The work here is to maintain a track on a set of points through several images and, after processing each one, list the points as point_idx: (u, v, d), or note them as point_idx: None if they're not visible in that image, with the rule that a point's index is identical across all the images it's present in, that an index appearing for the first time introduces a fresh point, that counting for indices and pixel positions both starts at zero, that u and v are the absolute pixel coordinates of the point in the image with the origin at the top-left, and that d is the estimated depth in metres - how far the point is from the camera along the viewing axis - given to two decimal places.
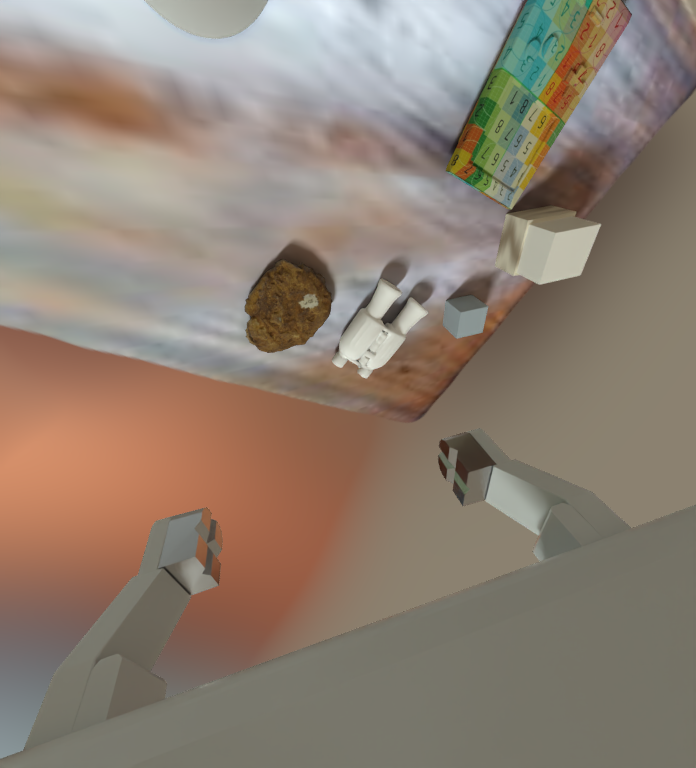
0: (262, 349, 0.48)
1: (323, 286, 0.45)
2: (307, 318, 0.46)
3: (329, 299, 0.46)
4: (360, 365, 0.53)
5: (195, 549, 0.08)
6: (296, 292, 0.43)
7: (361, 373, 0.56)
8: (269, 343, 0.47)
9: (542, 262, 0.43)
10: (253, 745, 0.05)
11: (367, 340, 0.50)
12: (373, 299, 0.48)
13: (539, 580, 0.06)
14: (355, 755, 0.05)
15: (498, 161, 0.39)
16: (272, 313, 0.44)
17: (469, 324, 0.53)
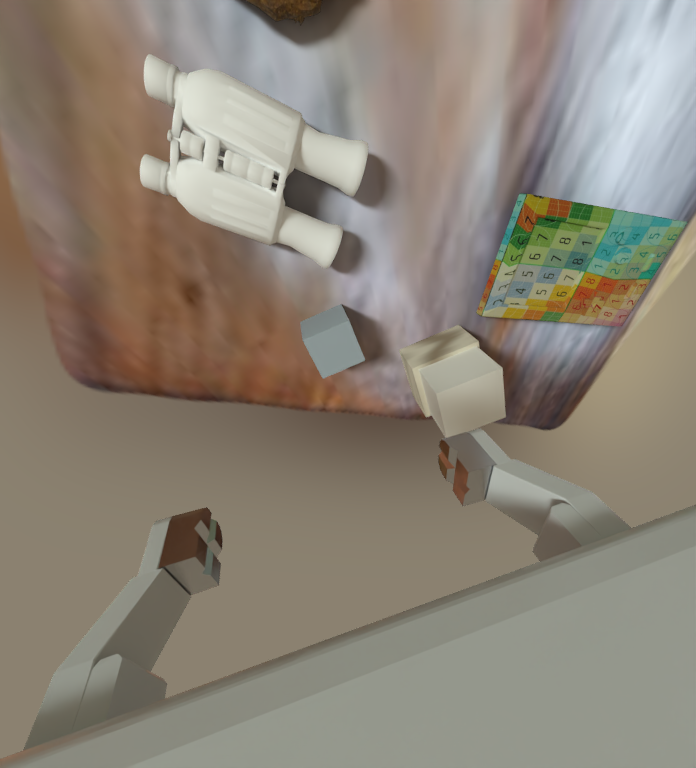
0: None
1: None
2: None
3: (307, 4, 0.21)
4: (174, 139, 0.22)
5: (195, 549, 0.08)
6: None
7: (148, 160, 0.23)
8: None
9: (461, 379, 0.31)
10: (253, 745, 0.05)
11: (248, 129, 0.22)
12: None
13: (539, 580, 0.06)
14: (356, 755, 0.05)
15: (532, 262, 0.32)
16: None
17: (331, 348, 0.32)
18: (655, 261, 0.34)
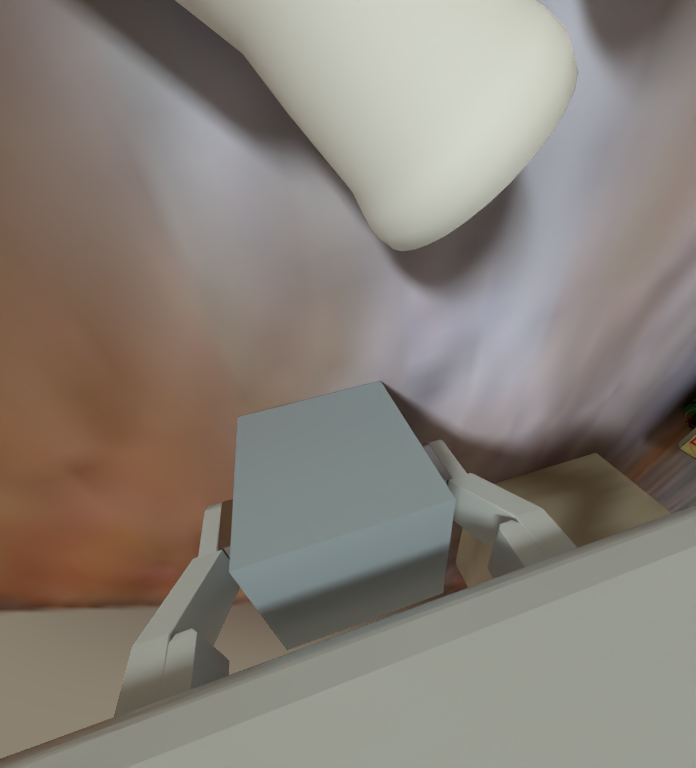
0: None
1: None
2: None
3: None
4: None
5: None
6: None
7: None
8: None
9: None
10: (253, 745, 0.05)
11: None
12: None
13: (539, 580, 0.06)
14: (356, 756, 0.05)
15: None
16: None
17: (350, 580, 0.08)
18: None
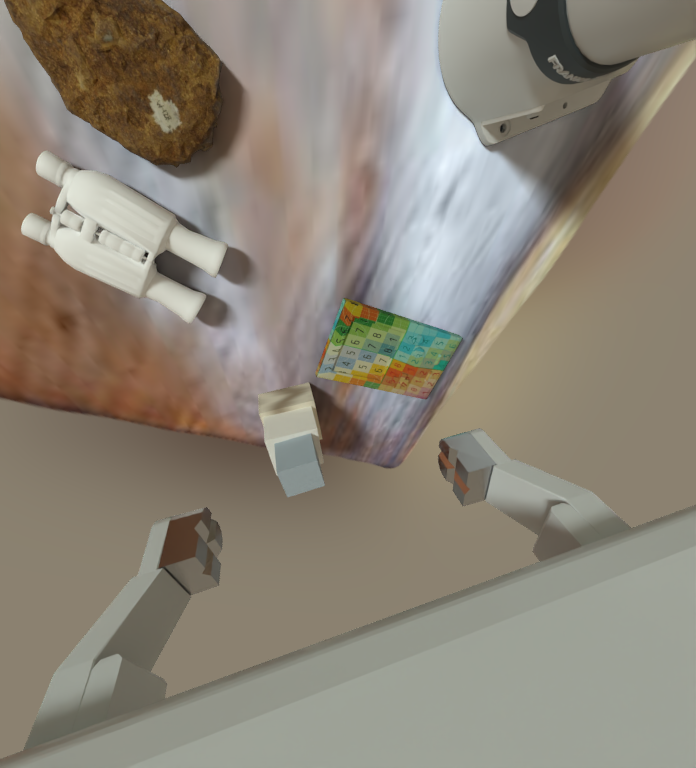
0: None
1: (197, 144, 0.29)
2: (130, 110, 0.26)
3: (179, 158, 0.29)
4: (56, 213, 0.28)
5: (195, 549, 0.08)
6: (174, 83, 0.26)
7: (31, 219, 0.29)
8: (34, 5, 0.22)
9: (287, 432, 0.41)
10: (253, 745, 0.05)
11: (122, 222, 0.29)
12: (197, 233, 0.33)
13: (538, 580, 0.06)
14: (356, 756, 0.05)
15: (353, 345, 0.43)
16: (113, 18, 0.23)
17: (299, 477, 0.39)
18: (443, 359, 0.48)
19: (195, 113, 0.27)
